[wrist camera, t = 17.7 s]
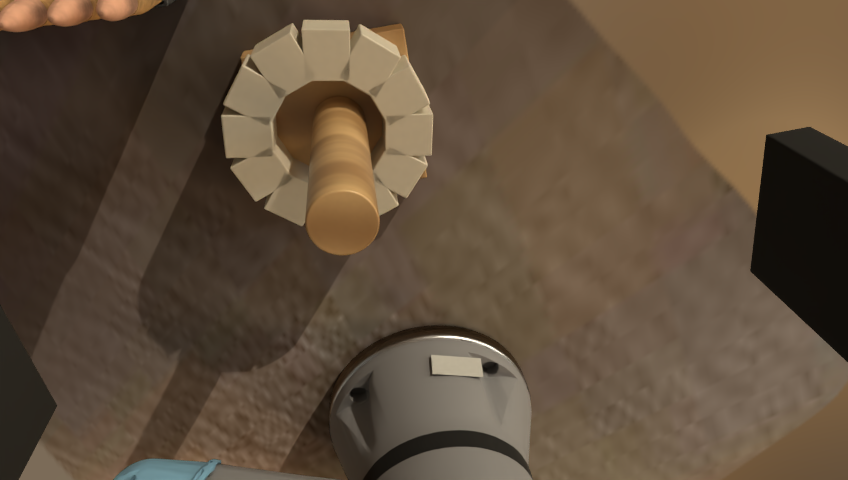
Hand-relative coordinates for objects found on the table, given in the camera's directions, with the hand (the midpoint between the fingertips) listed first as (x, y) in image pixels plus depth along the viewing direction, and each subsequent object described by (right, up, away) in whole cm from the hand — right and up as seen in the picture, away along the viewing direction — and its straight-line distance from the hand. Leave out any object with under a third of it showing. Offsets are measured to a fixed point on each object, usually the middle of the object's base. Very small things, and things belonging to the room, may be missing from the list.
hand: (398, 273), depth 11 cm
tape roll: (-5, +7, +27) cm, 28 cm away
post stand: (-5, +8, +28) cm, 29 cm away
